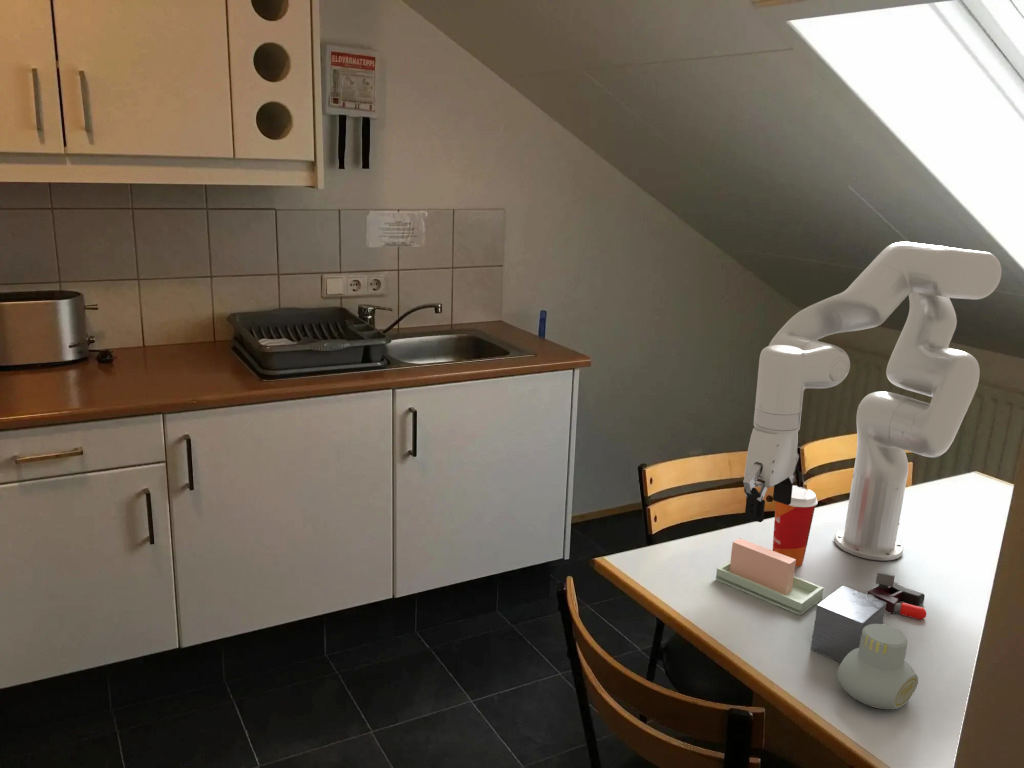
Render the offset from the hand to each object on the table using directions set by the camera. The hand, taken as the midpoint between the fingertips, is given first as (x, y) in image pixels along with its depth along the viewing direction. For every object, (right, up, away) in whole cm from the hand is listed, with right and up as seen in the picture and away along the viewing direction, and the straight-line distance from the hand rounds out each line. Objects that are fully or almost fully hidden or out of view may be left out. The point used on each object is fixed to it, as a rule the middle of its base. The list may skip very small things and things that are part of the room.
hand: (768, 510), depth 147 cm
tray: (+1, -14, +2) cm, 14 cm away
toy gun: (+21, -17, -3) cm, 27 cm away
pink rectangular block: (-1, -13, +3) cm, 13 cm away
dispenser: (+7, -19, -16) cm, 26 cm away
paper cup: (+8, -12, +13) cm, 19 cm away
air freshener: (+7, -23, -27) cm, 36 cm away
